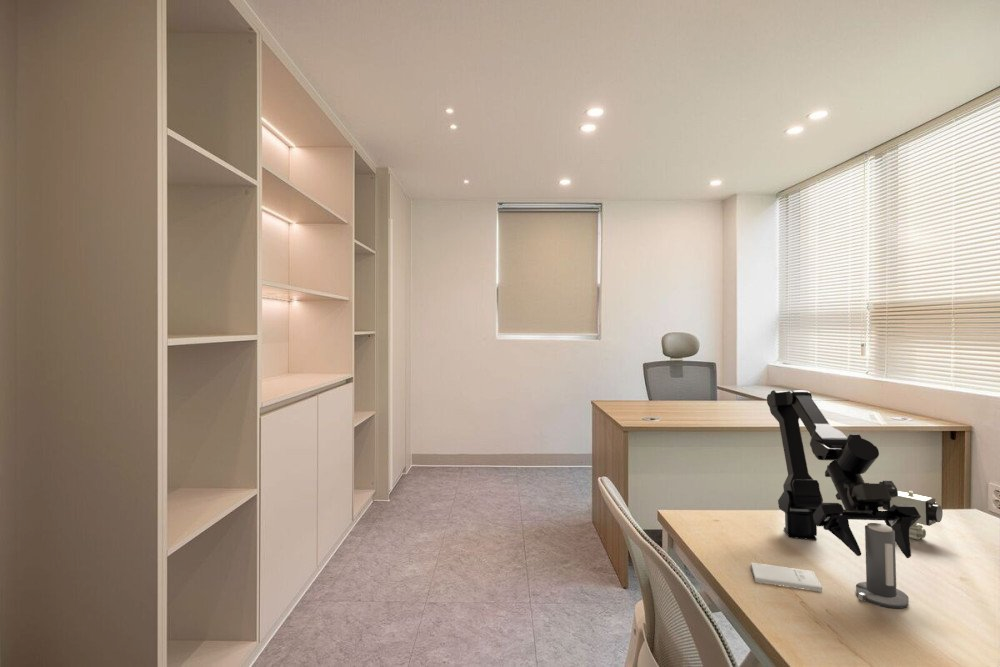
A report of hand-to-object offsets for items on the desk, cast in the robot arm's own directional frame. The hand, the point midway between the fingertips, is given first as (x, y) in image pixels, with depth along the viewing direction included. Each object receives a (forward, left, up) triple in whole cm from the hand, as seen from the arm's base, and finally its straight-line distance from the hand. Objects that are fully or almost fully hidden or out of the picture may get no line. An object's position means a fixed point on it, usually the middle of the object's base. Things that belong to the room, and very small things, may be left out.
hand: (884, 556), depth 99 cm
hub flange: (0, +1, -9) cm, 9 cm away
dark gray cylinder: (0, +1, -7) cm, 8 cm away
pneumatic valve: (+20, +42, -9) cm, 47 cm away
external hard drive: (-17, +4, -9) cm, 20 cm away
